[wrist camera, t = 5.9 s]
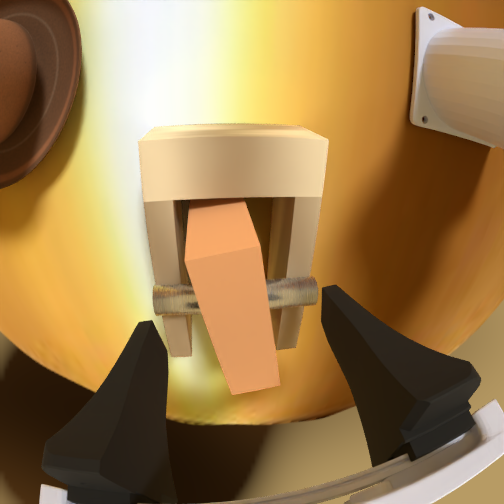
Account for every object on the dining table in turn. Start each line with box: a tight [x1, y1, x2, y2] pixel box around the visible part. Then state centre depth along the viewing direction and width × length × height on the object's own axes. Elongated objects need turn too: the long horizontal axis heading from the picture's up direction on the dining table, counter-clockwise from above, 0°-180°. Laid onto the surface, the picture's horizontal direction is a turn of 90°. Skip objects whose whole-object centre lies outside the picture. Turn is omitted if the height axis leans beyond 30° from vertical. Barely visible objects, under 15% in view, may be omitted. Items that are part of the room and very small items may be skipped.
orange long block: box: [185, 197, 280, 395], centre depth 14 cm, size 2×8×6 cm, turn 8°
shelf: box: [138, 124, 329, 357], centre depth 15 cm, size 7×12×5 cm, turn 178°
